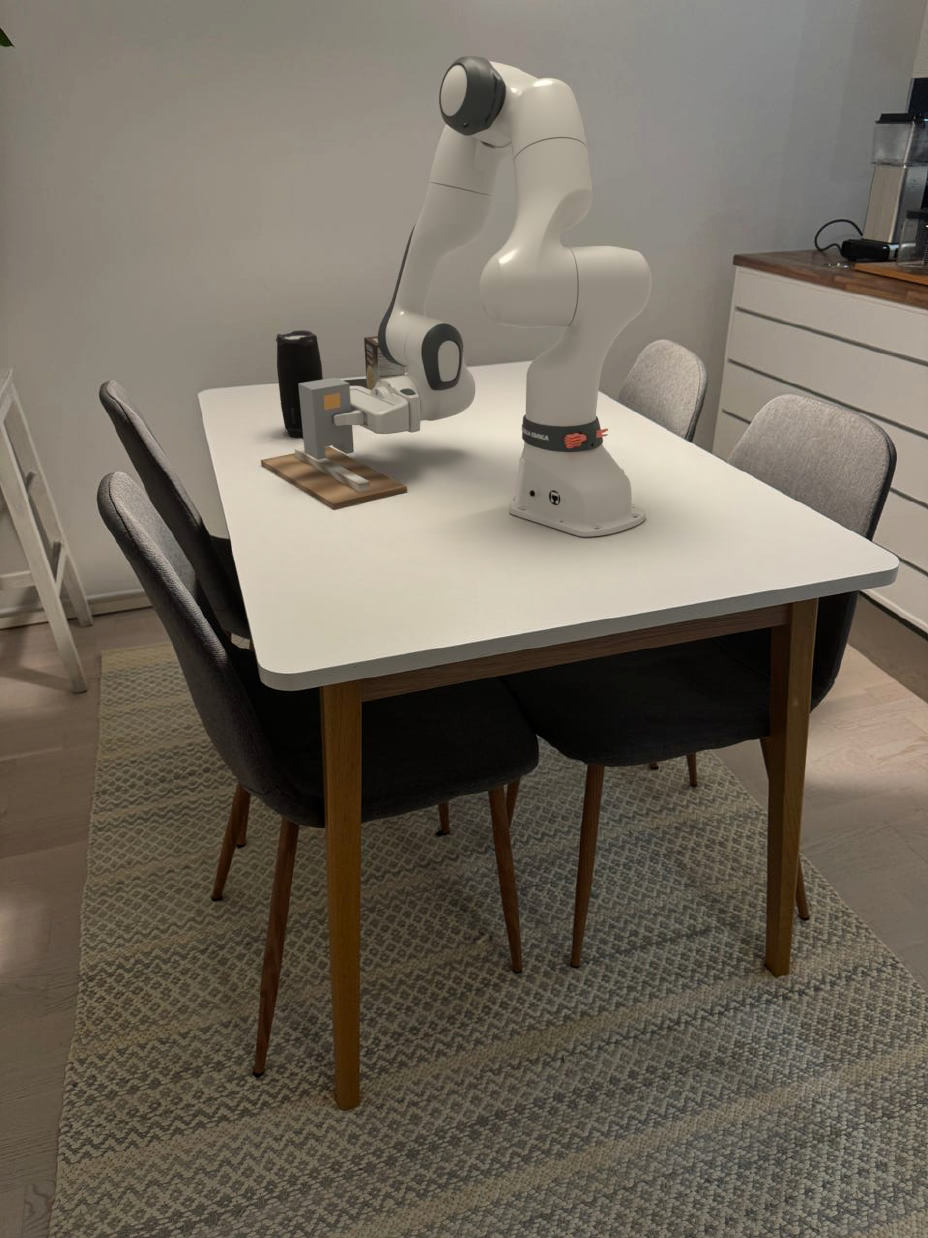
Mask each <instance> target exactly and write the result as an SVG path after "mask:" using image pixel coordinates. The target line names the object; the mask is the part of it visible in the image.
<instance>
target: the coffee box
mask: <svg viewBox="0 0 928 1238" xmlns="http://www.w3.org/2000/svg"><path fill="white" fill-rule="evenodd" d="M363 345H364V361H365V362H364V363H365V379H366V382H367V389H369V390H372V389H373V388H375V385H376V383H377V382H378V381H379V380H381V379H386V378H392V377H398V376H404V375H406V370H405V368H406V367H404V366H401V365H397V364H393V363H391V362H389V361H388V360H387V359H386V358H385V357H384V356H383V354H382V353H381V351H380V348H379V345H378V335H375V336H374V335H373V336H367V337H364V338H363Z"/></svg>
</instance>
